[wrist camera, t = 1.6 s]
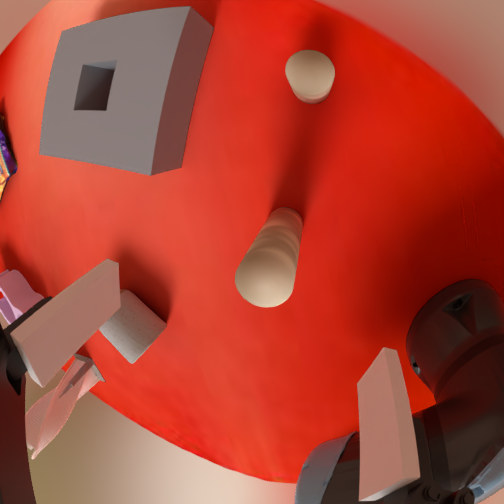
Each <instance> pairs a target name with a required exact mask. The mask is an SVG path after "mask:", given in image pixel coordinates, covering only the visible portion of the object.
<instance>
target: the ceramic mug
mask: <svg viewBox="0 0 504 504" xmlns="http://www.w3.org/2000/svg"><path fill="white" fill-rule="evenodd" d="M120 301H121V307H120V308H119V309H118V310H117V311H116V312H115V313H114V314H113V315H112V316H111V317H110V318H109V319H108V320H107V321H106V322H105V323H104V324H103V325H102V326H101V327H100V328H99V330H100V331H101V333H102V334H103V335H104V336H105V337H106V338H107V339H108V340H109V341H110V342H111V343H112V344H113V345H114V347H115V348H116V349H117V350H118V351H119V352H120V353H121V354H122V355H123V356H124V357H125V358H126V359H127V360H128V361H129V362H130V363H131V364H132V363H134V362H135V361H136V360H137V359H138V358H139V357H140V356H141V355H142V354H143V353H144V352H145V351H146V350H147V349H148V347H149V346H150V345H151V344H152V343H153V342H154V341H155V340H156V338H157V337H158V336H159V335H160V334H161V333H162V332H163V330H164V329H165V328H166V327H167V324H166V323H165V322H164V321H163V320H161V319H160V318H159V317H158V316H157V315H156V314H155V313H154V312H153V311H152V310H150V309H149V308H148V307H147V306H146V305H145V304H144V303H143V302H142V301H141V300H140V299H139V298H138V297H137V296H136V295H134V294H133V293H132V292H130V291H129V290H127V289H121V290H120Z"/></svg>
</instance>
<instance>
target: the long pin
mask: <svg viewBox="0 0 504 504" xmlns="http://www.w3.org/2000/svg"><path fill="white" fill-rule="evenodd" d="M302 229H303V221H302V218H301V216H300V215H299V213H298V212H296V211H295V210H294V209H291V208H288V207H281V208H278V209H276V210H274V211H273V212H272V213H271V214H270V215H269V217H268V219H267V220H266V222H265V224H264V225H263V227H262V229H261V230H260V232H259V234H258V235H257V237H256V239H255V240H254V242H253V244H252V245H251V247H250V248H249V250H248V252H247V253H246V255H245V257H244V258H243V260H242V262H241V263H240V265H239V267H238V269H237V271H236V274H235V283H236V287H237V289H238V291H239V293H240V294H241V295H242V297H243V298H244V299H246V300H247V301H248V302H250V303H252V304H254V305H256V306H260V307H274V306H277V305H280V304H282V303H283V302H285V301H286V300H287V299H288V298H289V296H290V295H291V293H292V290H293V286H294V280H295V274H296V268H297V262H298V256H299V249H300V243H301V236H302Z"/></svg>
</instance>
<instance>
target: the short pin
mask: <svg viewBox="0 0 504 504" xmlns="http://www.w3.org/2000/svg"><path fill="white" fill-rule="evenodd" d="M285 71H286V76H287V78H288V81H289V83H290V85H291V88H292V90H293V92H294V94H295V96H296V97H297V98H298V99H299V100H300V101H302V102H304V103H307V104H317V103H320V102H322V101H324V100H325V99H326V98H327V97H328V95H329V93H330V90H331V87H332V83H333V80H334V76H335V69H334V66H333V64H332V62H331V60H330V59H329V58H328V57H327V56H326V55H324V54H322V53H321V52H318V51H315V50H302V51H299V52H297V53H295V54H294V55H292V56H291V57H290V58H289V60H288V62H287V64H286V70H285Z"/></svg>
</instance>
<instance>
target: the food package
mask: <svg viewBox="0 0 504 504" xmlns="http://www.w3.org/2000/svg"><path fill="white" fill-rule="evenodd" d="M3 122H4V116H1V113H0V201H1V198H2V195H3V191H4V188H5V186H6V183H7V181H8V180H9V178H10V177H11V176H12V175H13V174H15V173H16V171H17V167H18V164H17V161H16V159H15V157H14V154H13V151H12V150H11V147H10V142H9V139H8V136H7V135H6V132H5V129H4V123H3Z"/></svg>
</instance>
